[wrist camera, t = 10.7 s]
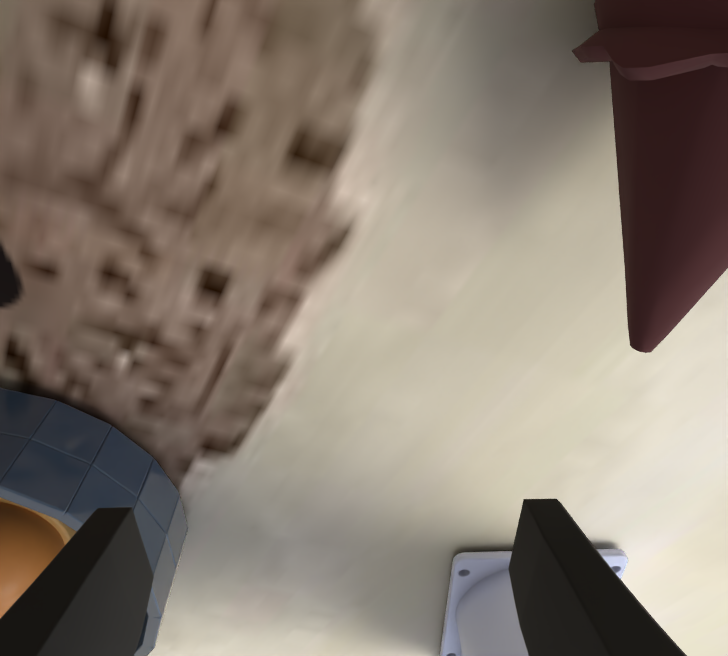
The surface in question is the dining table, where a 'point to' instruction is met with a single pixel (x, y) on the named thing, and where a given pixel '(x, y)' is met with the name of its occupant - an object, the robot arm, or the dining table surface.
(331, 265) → the dining table surface
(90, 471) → the bowl
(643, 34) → the icecream
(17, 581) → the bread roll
